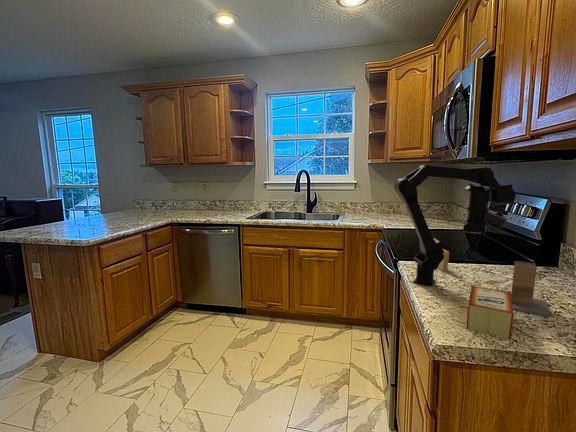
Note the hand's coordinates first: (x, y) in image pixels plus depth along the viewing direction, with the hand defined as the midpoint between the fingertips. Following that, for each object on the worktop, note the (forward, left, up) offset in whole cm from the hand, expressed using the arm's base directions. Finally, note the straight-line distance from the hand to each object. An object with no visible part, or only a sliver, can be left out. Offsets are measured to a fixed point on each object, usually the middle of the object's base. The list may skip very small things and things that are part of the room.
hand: (474, 248), depth 112 cm
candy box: (+16, +14, -13) cm, 25 cm away
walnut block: (-11, -14, -12) cm, 22 cm away
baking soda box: (-21, -6, -10) cm, 24 cm away
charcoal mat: (-11, -13, -13) cm, 22 cm away
